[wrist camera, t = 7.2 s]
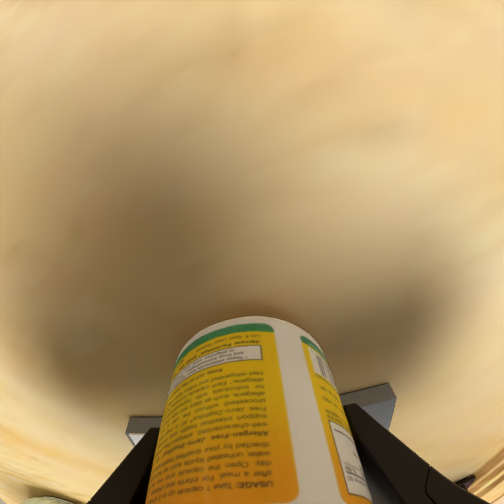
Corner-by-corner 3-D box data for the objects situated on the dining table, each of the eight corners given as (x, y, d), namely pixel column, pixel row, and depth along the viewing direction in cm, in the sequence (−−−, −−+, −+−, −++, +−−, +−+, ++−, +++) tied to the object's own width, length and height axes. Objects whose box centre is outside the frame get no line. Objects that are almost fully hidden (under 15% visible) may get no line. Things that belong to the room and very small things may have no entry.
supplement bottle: (351, 337, 11) (462, 600, 2) (282, 429, 12) (311, 636, 3) (203, 285, 10) (153, 663, 1) (158, 395, 11) (117, 630, 2)
